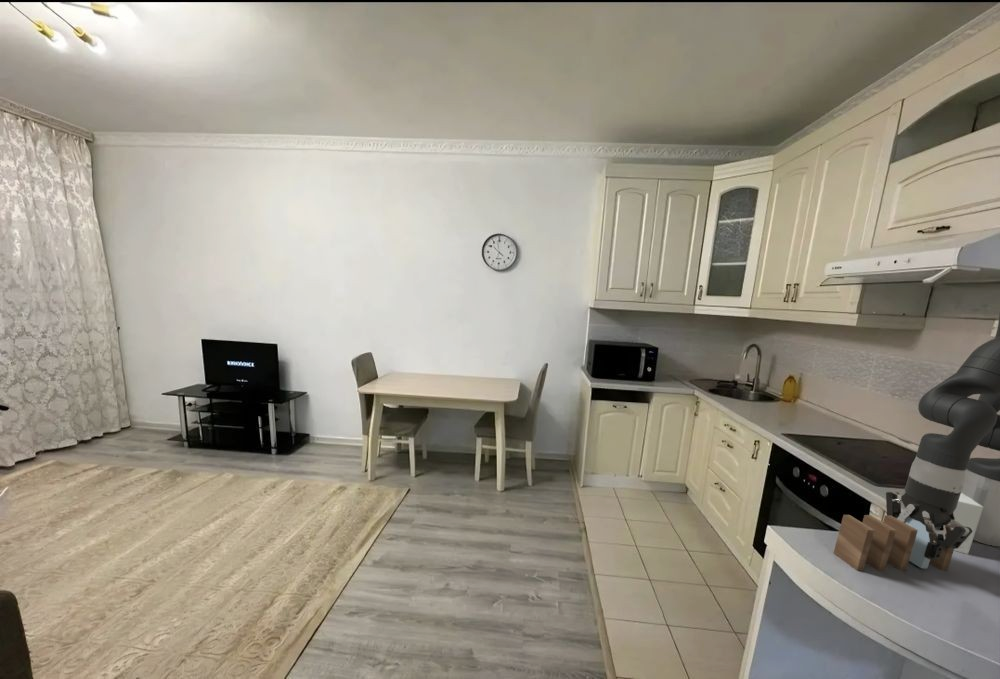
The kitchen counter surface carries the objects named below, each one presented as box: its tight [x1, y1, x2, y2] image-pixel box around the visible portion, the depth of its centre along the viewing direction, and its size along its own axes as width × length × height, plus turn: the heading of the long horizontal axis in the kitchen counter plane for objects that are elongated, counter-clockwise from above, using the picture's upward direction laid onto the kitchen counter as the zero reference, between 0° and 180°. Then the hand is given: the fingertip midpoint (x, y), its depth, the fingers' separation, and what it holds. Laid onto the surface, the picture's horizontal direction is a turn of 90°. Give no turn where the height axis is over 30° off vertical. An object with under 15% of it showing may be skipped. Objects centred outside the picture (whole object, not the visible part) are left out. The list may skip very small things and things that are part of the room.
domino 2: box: [861, 514, 896, 571], centre depth 80 cm, size 2×5×10 cm, turn 6°
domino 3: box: [882, 514, 918, 571], centre depth 80 cm, size 2×5×10 cm, turn 6°
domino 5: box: [929, 524, 954, 571], centre depth 82 cm, size 2×5×10 cm, turn 6°
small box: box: [948, 493, 983, 555], centre depth 90 cm, size 8×6×13 cm
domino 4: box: [904, 516, 940, 569], centre depth 81 cm, size 2×5×10 cm, turn 6°
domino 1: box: [833, 514, 874, 572], centre depth 79 cm, size 2×5×10 cm, turn 6°
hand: (914, 548), depth 81 cm, fingers closed on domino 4, 5 cm apart
